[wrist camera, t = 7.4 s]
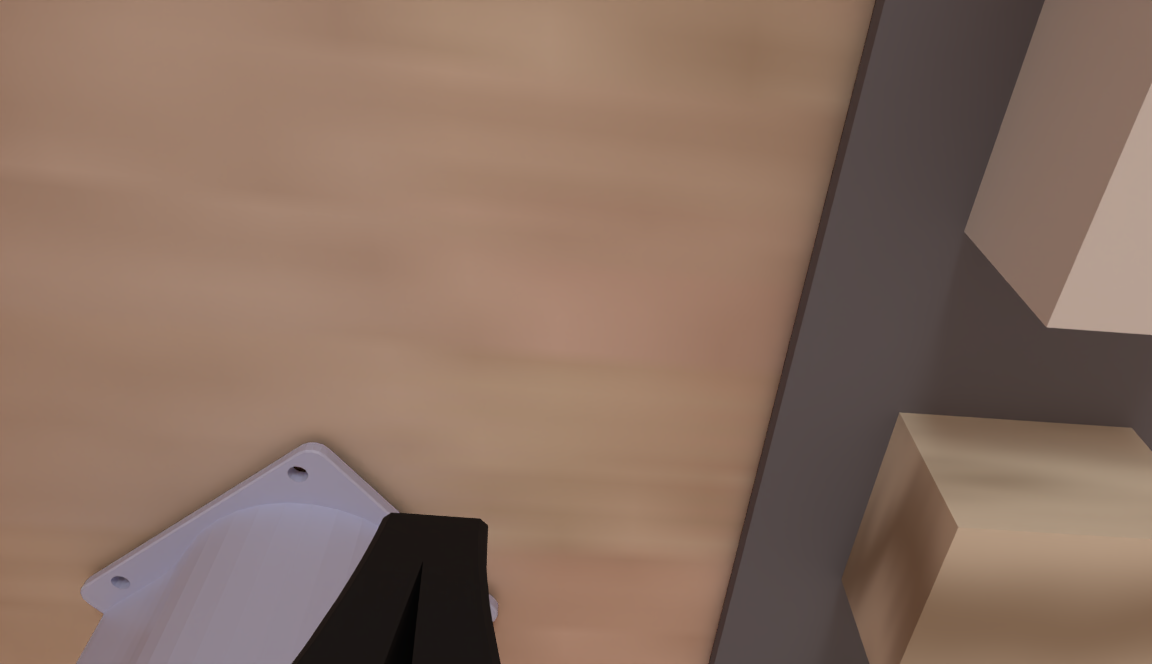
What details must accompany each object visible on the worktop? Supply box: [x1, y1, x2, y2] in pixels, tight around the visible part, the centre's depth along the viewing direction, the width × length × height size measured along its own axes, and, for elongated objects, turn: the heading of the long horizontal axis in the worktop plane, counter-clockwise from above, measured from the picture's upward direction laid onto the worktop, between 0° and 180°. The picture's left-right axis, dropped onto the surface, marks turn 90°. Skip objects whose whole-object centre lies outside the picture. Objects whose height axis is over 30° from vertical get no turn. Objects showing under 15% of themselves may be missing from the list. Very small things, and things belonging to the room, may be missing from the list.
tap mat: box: [709, 0, 1152, 664], centre depth 24 cm, size 30×12×1 cm, turn 175°
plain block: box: [841, 412, 1152, 664], centre depth 22 cm, size 6×6×4 cm
